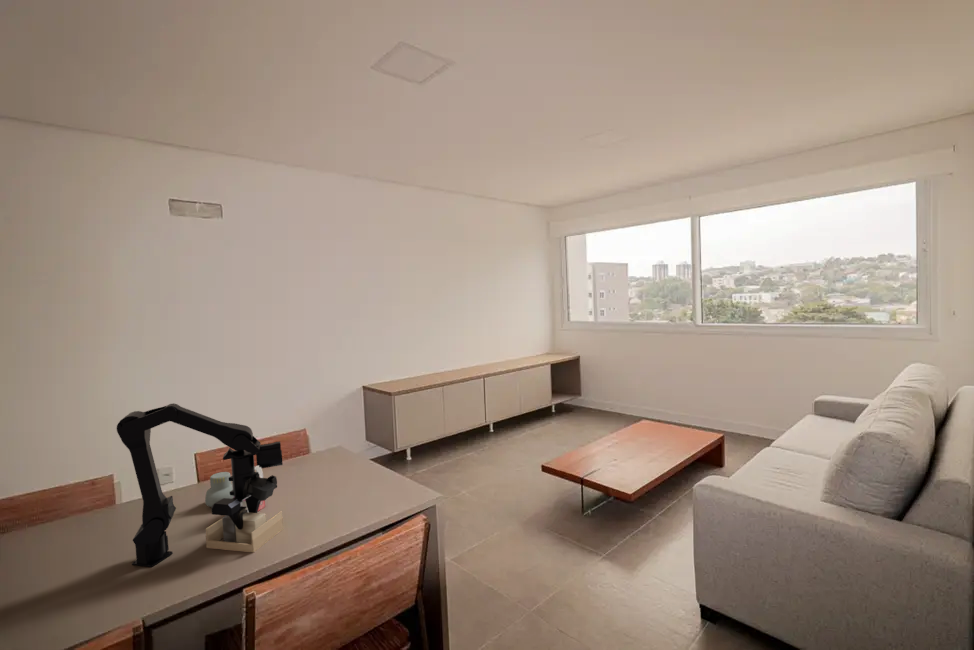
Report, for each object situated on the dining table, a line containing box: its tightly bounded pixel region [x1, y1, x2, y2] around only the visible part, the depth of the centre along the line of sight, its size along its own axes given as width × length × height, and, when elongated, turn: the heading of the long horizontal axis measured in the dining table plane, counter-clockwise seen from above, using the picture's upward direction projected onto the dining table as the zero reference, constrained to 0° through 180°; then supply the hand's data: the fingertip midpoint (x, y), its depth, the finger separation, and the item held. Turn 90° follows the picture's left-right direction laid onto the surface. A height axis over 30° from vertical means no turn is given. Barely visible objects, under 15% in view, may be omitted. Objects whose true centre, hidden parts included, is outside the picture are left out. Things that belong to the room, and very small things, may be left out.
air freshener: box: [204, 471, 233, 508], centre depth 155 cm, size 11×8×10 cm
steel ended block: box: [221, 510, 267, 544], centre depth 132 cm, size 10×6×7 cm, turn 78°
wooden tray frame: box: [205, 510, 285, 553], centre depth 132 cm, size 13×15×6 cm
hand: (247, 524), depth 132 cm, fingers open, 5 cm apart
